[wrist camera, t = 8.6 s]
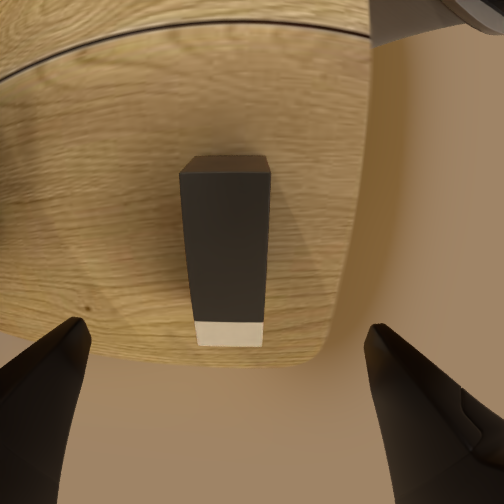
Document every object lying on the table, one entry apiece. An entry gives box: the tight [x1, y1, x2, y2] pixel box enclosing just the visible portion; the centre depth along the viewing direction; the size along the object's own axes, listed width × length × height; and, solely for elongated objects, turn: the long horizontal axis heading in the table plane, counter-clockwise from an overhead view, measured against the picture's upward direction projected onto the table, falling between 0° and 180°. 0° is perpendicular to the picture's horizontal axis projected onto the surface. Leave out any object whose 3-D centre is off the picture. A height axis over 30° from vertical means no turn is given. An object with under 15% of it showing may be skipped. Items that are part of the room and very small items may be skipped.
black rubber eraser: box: [179, 156, 271, 347], centre depth 12 cm, size 3×8×3 cm, turn 179°
